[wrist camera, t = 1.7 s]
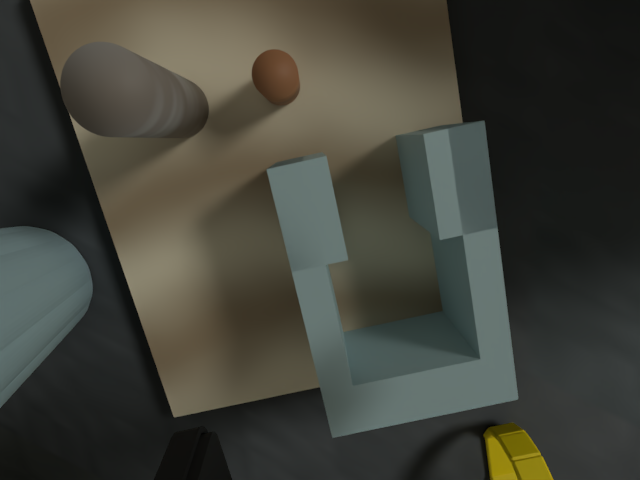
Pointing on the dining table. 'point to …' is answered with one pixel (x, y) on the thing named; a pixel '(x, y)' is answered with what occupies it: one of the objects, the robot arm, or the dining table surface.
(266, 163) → the board
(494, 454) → the watch
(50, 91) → the dining table surface
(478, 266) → the u-shaped channel block
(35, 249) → the cup
